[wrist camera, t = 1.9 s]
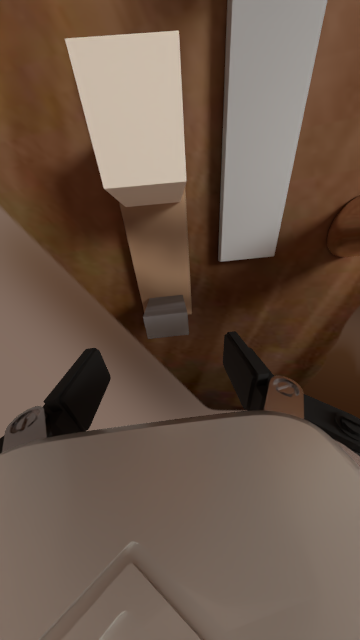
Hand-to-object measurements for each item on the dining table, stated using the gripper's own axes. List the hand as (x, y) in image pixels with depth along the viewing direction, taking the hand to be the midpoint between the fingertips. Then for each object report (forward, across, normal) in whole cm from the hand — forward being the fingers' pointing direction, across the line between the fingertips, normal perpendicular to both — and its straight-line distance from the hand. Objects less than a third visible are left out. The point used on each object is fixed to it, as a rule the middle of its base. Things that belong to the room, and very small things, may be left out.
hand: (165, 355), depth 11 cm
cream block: (+8, 0, -13) cm, 16 cm away
